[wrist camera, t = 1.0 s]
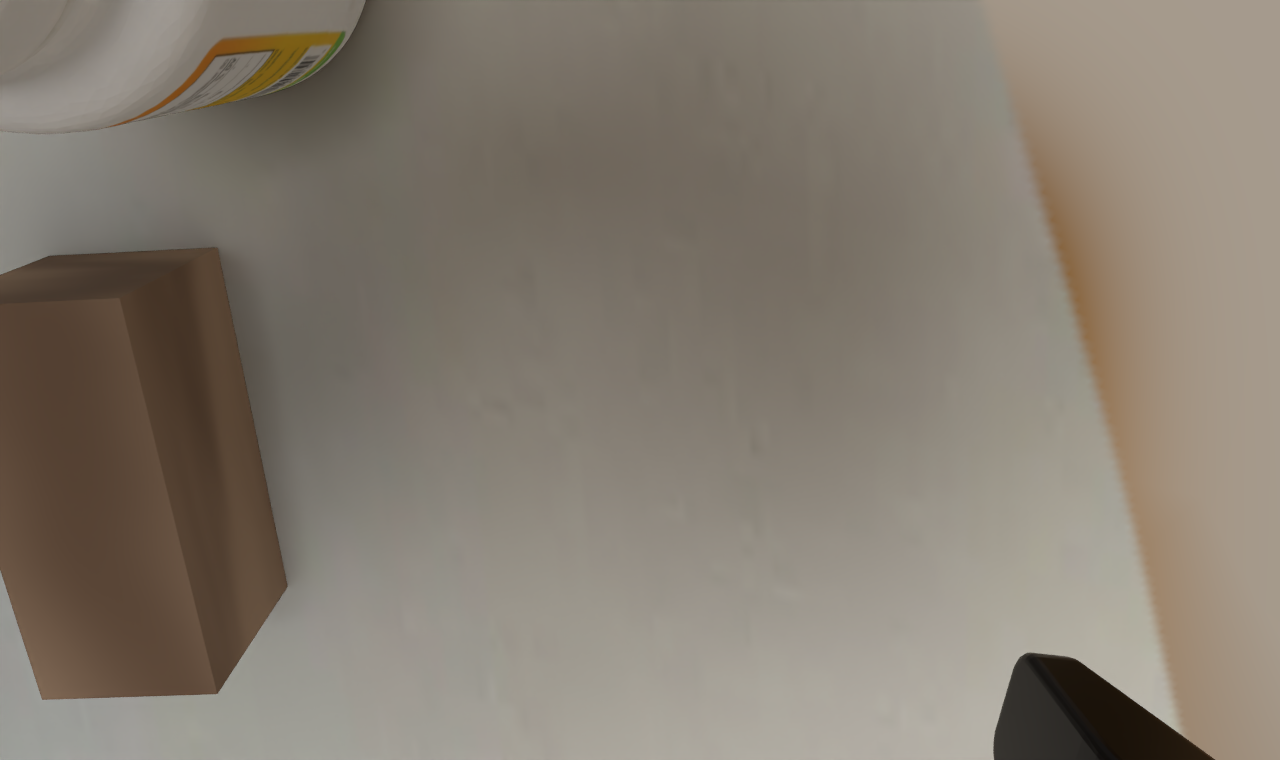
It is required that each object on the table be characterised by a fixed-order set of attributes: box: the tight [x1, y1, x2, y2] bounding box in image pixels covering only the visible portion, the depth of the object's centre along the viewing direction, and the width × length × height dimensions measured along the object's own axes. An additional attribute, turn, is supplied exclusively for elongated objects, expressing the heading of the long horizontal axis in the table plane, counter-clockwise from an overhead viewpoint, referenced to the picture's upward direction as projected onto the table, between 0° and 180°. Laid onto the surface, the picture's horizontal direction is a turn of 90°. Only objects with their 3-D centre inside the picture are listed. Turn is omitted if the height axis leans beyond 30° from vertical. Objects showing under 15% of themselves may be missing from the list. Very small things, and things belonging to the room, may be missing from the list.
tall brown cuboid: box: [0, 248, 288, 700], centre depth 20 cm, size 4×8×4 cm, turn 3°
